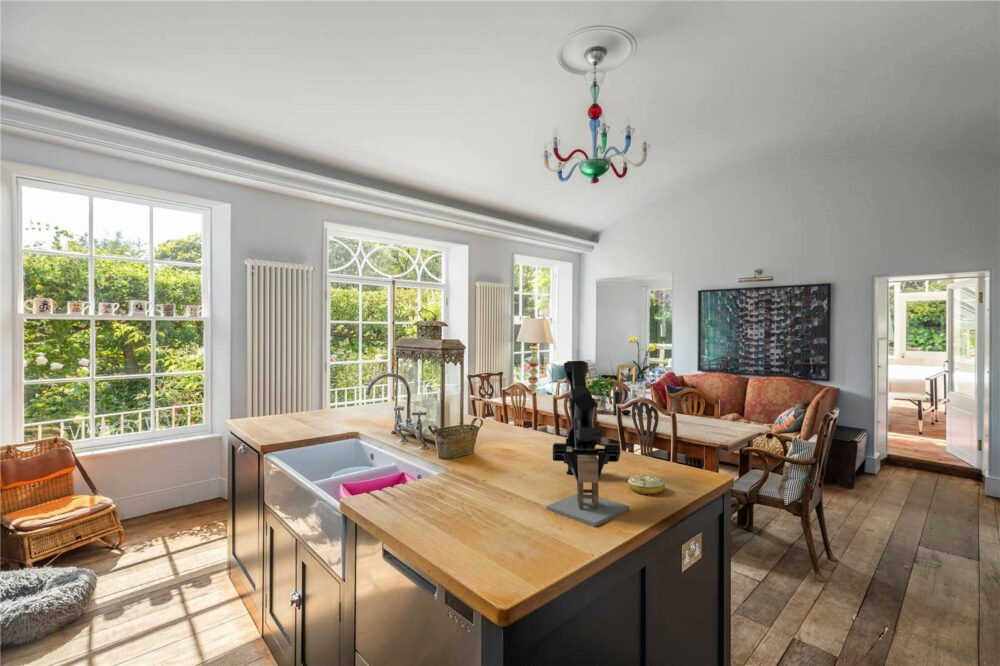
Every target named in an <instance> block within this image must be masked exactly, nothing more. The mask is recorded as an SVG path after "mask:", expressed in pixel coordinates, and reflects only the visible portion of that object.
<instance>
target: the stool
mask: <svg viewBox="0 0 1000 666" xmlns="http://www.w3.org/2000/svg"><path fill="white" fill-rule="evenodd" d="M577 471H578V481H577V480H576V483H577V488H576V489H577V493H576V494H577V501H578V503H579V508H583V499H592V503H593V505H594V509H599V503H598V497H599V481H598V456H596V455H577ZM584 483H589V484H590V483H591V489H589V488H588V489H587V488H585V489H584ZM583 493H588V494H591V495H583Z"/></svg>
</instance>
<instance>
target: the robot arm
mask: <svg viewBox="0 0 1000 666" xmlns="http://www.w3.org/2000/svg"><path fill="white" fill-rule="evenodd" d="M563 374H564V375H565V380H566V381H567V383H568V385H569V388H570V389H569V391H570V398H568V410H570V417H571V418H570V419H571V420H570V421H571V427H570V429H569V431H568V432H567V434H566V435H567V436H566V437H567V438H565V442H562V443H561V442H554V443H553V444H552V461H554V462H563V463H564V464H565V465H567V471H566V474H567V475H573V476H574V478H575V480H576V482H577V481H578V471H577V455H596V457H597V459H598V482H600V479H601V474H602V472H603V469H604V466H605V465H608V464H609V463H618V462H619V460H620V456H621V446H620V444H618V443H605V444H604V448H597V447H596V446H597V444H598V443H597V439H602V438H603V436H604V435H603V434H604V433H603V427H602V425H595V426H594V421H593V420H594V417H595V410H597V409H596V408H598V402H596V400H595V398H593V395H592V391H590V390H589V389H588V388H587V382H586V377H587V374H589V362H586V361H584V360H581V359H579V360H577V359H576V360H567V361H566V362H564V363H563Z"/></svg>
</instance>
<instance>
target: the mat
mask: <svg viewBox="0 0 1000 666" xmlns="http://www.w3.org/2000/svg"><path fill="white" fill-rule="evenodd" d="M583 495H592V493H583ZM598 503H599V509H594V505H593V503H592V499H583V508H579V503H578V501H577V493H575V494H573V495H570V496H568V497H564V498H562V499H560V500H557V501H555V502H553V503H550V504H548V505H546V510H547V511H550V512H552V513H555V514H558V515H560V516H564V517H566V518H569V519H572V520H575V521H578V522H580V523H583V524H586V525H587V526H591V527H594V528H596V527H597V526H600V525H602V524H604V523H606V522H607V521H609V520H612V519H614V518H616V517H618V516H620V515H622V514H623V512H624V513H626V512H628V511H629V510H630V505H626V504H624V503H620V502H616V501H614V500H611V499H607V498H603V497H602V496H601V497H600V496H598ZM627 510H628V511H627ZM625 511H626V512H625ZM621 513H622V514H621ZM619 514H620V515H619ZM617 515H618V516H617ZM615 516H616V517H615ZM613 517H614V518H613Z"/></svg>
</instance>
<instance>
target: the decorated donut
mask: <svg viewBox="0 0 1000 666" xmlns="http://www.w3.org/2000/svg"><path fill="white" fill-rule="evenodd" d="M627 483H628V486H629V488H630V490H632V491H633V492H635V494H636V493H637V494H640V495H645V494H648V496H652V495H651V494H656V495H659V494H661V493H662V492H663V491H664V489H665V482H664V480H663V479H661V478H659V477H655V476H652V475H644V474H643V475H641V474H640V475H639V474H638V475H632V476H630V478H628V480H627ZM658 493H659V494H658Z"/></svg>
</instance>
